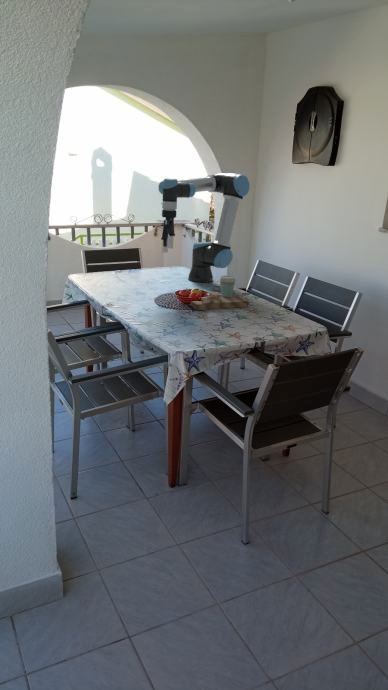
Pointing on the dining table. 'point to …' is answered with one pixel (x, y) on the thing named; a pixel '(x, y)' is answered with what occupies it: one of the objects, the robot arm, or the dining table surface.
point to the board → (220, 303)
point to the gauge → (213, 297)
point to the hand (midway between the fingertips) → (167, 250)
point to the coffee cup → (227, 285)
